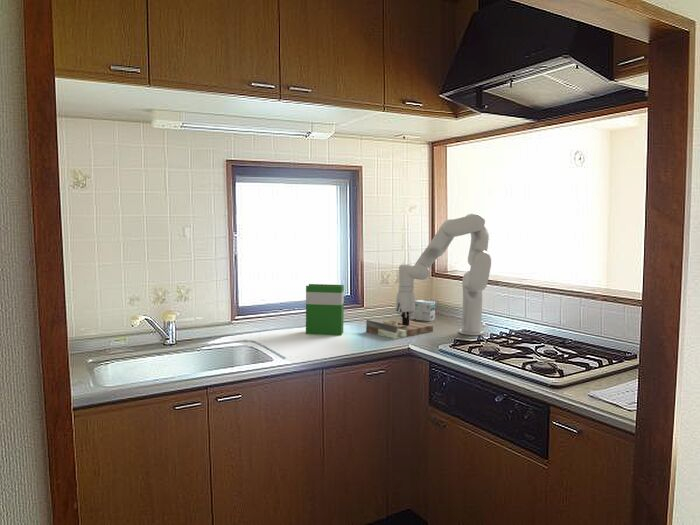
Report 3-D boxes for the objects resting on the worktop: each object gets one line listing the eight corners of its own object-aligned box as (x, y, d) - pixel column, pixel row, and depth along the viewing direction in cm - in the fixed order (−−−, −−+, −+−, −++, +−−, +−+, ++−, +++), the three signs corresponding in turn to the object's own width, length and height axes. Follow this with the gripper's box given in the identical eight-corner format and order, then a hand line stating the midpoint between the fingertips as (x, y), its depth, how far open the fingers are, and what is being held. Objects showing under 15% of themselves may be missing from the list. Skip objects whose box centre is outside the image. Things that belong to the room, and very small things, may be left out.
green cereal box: (305, 334, 257) (306, 285, 255) (308, 330, 264) (309, 284, 262) (341, 335, 255) (341, 286, 253) (343, 332, 262) (343, 284, 260)
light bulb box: (435, 319, 297) (435, 301, 296) (430, 321, 291) (430, 302, 290) (418, 317, 302) (418, 299, 302) (413, 319, 297) (413, 300, 296)
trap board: (404, 324, 281) (404, 313, 281) (432, 331, 266) (433, 319, 266) (366, 331, 263) (366, 320, 262) (394, 339, 248) (395, 326, 248)
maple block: (390, 327, 260) (390, 319, 259) (397, 329, 256) (397, 321, 255) (383, 328, 256) (383, 320, 256) (390, 330, 253) (390, 322, 252)
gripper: (410, 287, 269) (410, 322, 270) (390, 289, 259) (390, 326, 260) (421, 288, 263) (421, 324, 265) (401, 291, 253) (401, 328, 255)
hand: (405, 325), depth 263 cm, fingers closed
